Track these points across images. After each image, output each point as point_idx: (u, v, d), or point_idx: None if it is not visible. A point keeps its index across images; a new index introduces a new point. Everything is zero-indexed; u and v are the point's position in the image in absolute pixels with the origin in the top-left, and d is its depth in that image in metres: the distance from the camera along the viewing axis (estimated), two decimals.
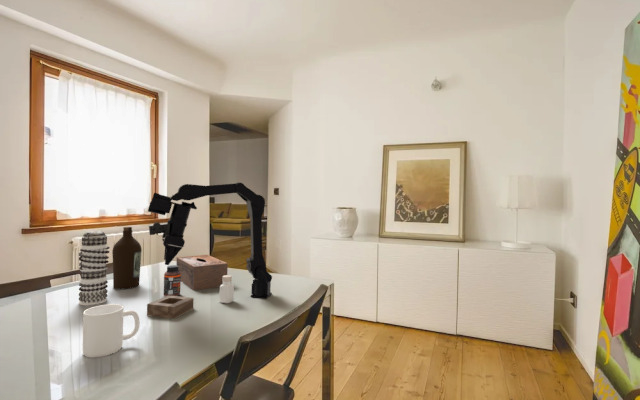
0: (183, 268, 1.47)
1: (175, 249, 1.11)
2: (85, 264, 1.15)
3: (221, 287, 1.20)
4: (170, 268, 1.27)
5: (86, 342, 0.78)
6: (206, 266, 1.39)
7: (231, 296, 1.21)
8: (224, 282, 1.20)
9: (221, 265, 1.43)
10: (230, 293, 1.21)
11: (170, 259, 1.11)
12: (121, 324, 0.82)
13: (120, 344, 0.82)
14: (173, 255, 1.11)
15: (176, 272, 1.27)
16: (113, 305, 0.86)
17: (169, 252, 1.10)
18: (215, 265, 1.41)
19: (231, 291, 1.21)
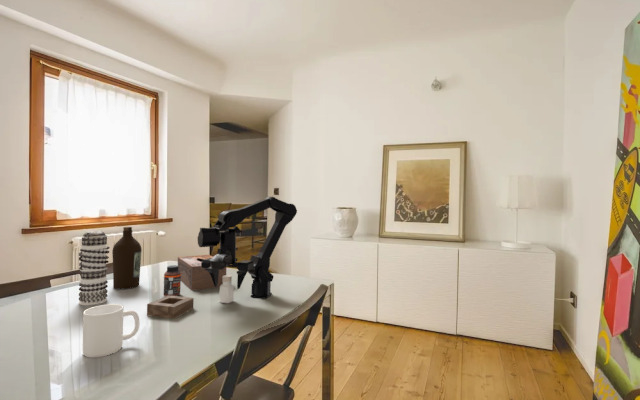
0: (183, 268, 1.47)
1: (244, 272, 1.22)
2: (85, 264, 1.15)
3: (221, 287, 1.20)
4: (170, 268, 1.27)
5: (86, 342, 0.78)
6: None
7: (231, 296, 1.21)
8: (224, 282, 1.20)
9: None
10: (230, 293, 1.21)
11: (241, 282, 1.21)
12: (121, 324, 0.82)
13: (120, 344, 0.82)
14: (243, 278, 1.22)
15: (176, 272, 1.27)
16: (113, 305, 0.86)
17: (241, 277, 1.20)
18: None
19: (231, 291, 1.21)
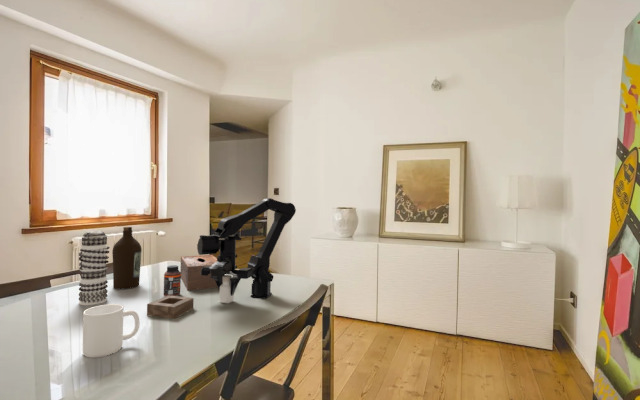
0: (183, 267, 1.48)
1: (237, 279, 1.22)
2: (85, 264, 1.15)
3: (221, 287, 1.20)
4: (170, 268, 1.27)
5: (86, 342, 0.78)
6: (201, 266, 1.38)
7: (231, 296, 1.21)
8: (224, 282, 1.20)
9: None
10: (230, 293, 1.21)
11: (234, 289, 1.22)
12: (121, 324, 0.82)
13: (120, 344, 0.82)
14: (236, 285, 1.22)
15: (176, 272, 1.27)
16: (113, 305, 0.86)
17: (234, 284, 1.21)
18: None
19: None
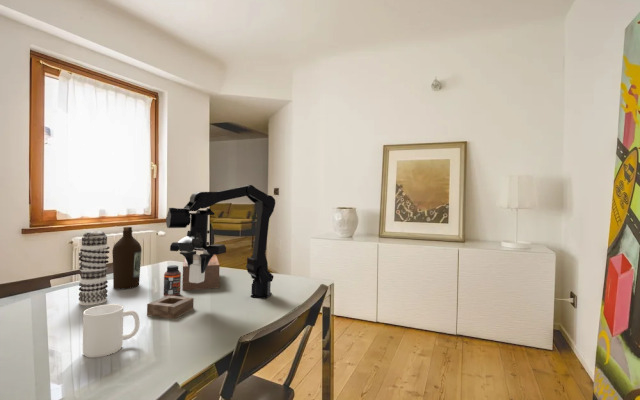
0: None
1: (209, 256, 1.15)
2: (85, 264, 1.15)
3: (191, 266, 1.13)
4: (170, 268, 1.27)
5: (86, 342, 0.78)
6: None
7: (202, 275, 1.15)
8: (195, 261, 1.14)
9: (212, 266, 1.40)
10: None
11: (205, 267, 1.15)
12: (121, 324, 0.82)
13: (120, 344, 0.82)
14: (207, 262, 1.15)
15: (176, 272, 1.27)
16: (113, 305, 0.86)
17: (205, 261, 1.14)
18: None
19: None
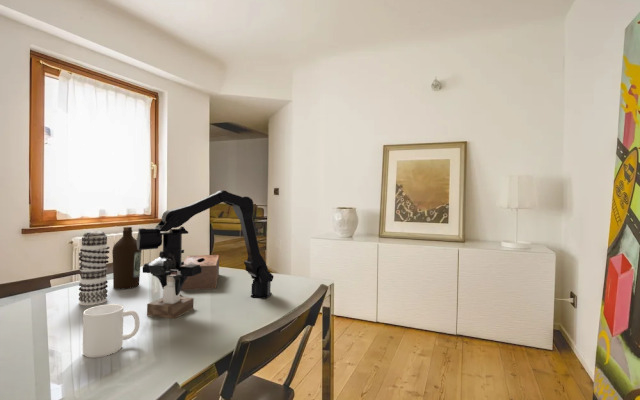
0: None
1: (183, 277, 1.10)
2: (85, 264, 1.15)
3: (165, 288, 1.08)
4: None
5: (86, 342, 0.78)
6: None
7: (177, 297, 1.10)
8: (168, 282, 1.09)
9: (209, 267, 1.39)
10: (175, 294, 1.09)
11: (180, 288, 1.10)
12: (121, 324, 0.82)
13: (120, 344, 0.82)
14: (182, 283, 1.10)
15: (176, 272, 1.27)
16: (113, 305, 0.86)
17: (179, 282, 1.09)
18: (202, 266, 1.38)
19: None
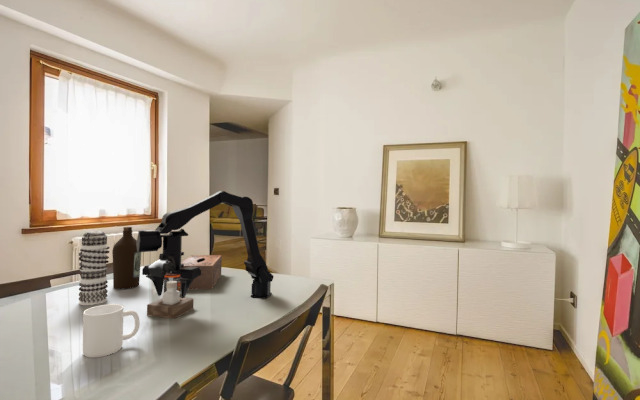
0: None
1: (189, 280, 1.10)
2: (85, 264, 1.15)
3: (165, 294, 1.08)
4: None
5: (86, 342, 0.78)
6: (189, 266, 1.37)
7: None
8: (168, 289, 1.09)
9: (205, 267, 1.38)
10: (175, 301, 1.09)
11: (186, 291, 1.09)
12: (121, 324, 0.82)
13: (120, 344, 0.82)
14: (188, 286, 1.10)
15: None
16: (113, 305, 0.86)
17: (185, 285, 1.08)
18: (199, 266, 1.38)
19: (176, 298, 1.10)
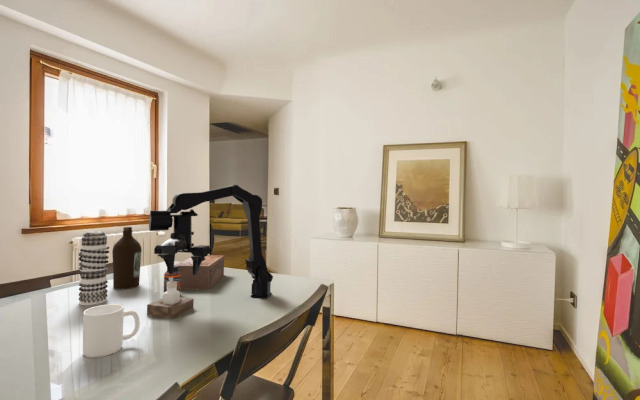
0: None
1: (200, 258, 1.14)
2: (85, 264, 1.15)
3: (165, 294, 1.08)
4: None
5: (86, 342, 0.78)
6: (186, 266, 1.37)
7: None
8: (168, 289, 1.09)
9: (202, 267, 1.38)
10: (175, 301, 1.09)
11: (197, 269, 1.14)
12: (121, 324, 0.82)
13: (120, 344, 0.82)
14: (199, 264, 1.14)
15: (176, 272, 1.27)
16: (113, 305, 0.86)
17: (197, 263, 1.13)
18: None
19: (176, 298, 1.10)
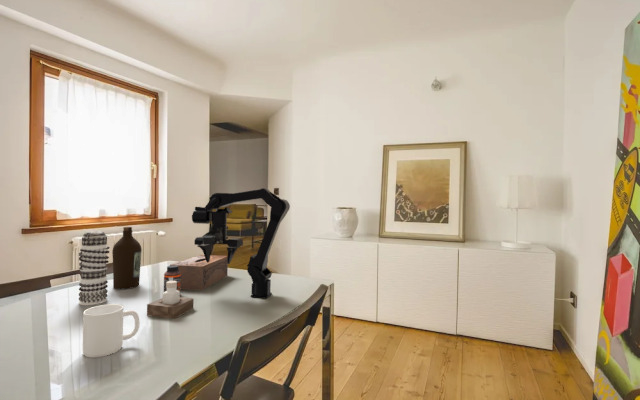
0: None
1: (234, 249, 1.32)
2: (85, 264, 1.15)
3: (164, 294, 1.08)
4: (170, 268, 1.27)
5: (86, 342, 0.78)
6: (181, 266, 1.38)
7: None
8: (168, 288, 1.09)
9: (196, 267, 1.37)
10: (175, 300, 1.09)
11: (231, 258, 1.32)
12: (121, 324, 0.82)
13: (120, 344, 0.82)
14: (233, 254, 1.32)
15: (176, 272, 1.27)
16: (113, 305, 0.86)
17: (231, 253, 1.31)
18: (190, 266, 1.37)
19: (176, 298, 1.10)
